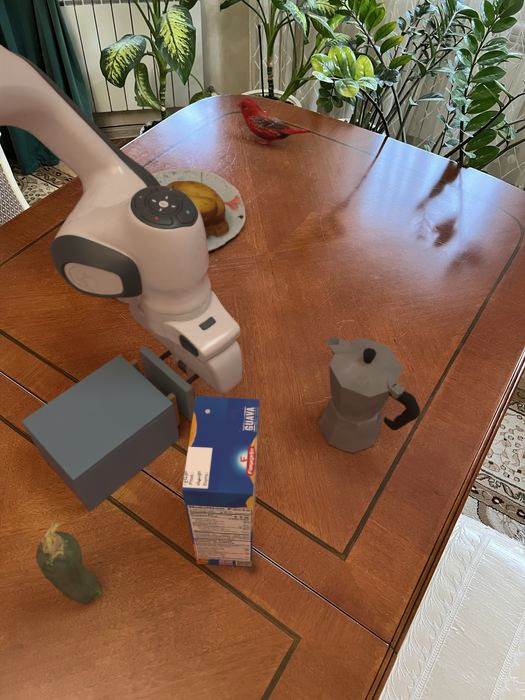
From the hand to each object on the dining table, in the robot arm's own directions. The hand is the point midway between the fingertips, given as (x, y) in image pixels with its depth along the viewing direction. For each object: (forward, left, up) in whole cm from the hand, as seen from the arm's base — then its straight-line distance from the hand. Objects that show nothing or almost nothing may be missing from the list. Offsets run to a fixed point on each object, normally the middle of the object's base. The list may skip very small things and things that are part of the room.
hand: (187, 368), depth 84 cm
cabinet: (0, -15, -5) cm, 16 cm away
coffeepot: (+23, +12, -6) cm, 27 cm away
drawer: (0, -8, -4) cm, 9 cm away
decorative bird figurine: (-37, +57, -6) cm, 69 cm away
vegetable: (+14, -29, -6) cm, 32 cm away
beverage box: (+20, -11, -6) cm, 23 cm away
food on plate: (-32, +26, -6) cm, 42 cm away
